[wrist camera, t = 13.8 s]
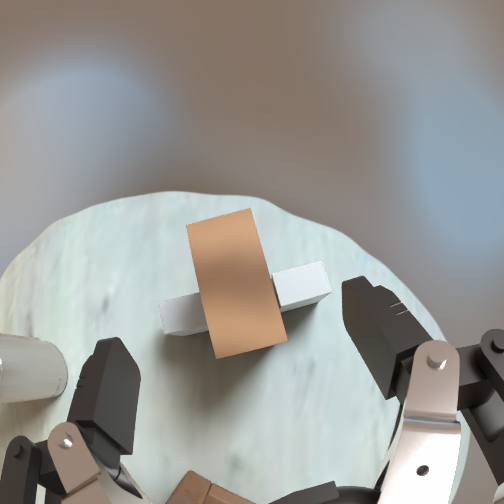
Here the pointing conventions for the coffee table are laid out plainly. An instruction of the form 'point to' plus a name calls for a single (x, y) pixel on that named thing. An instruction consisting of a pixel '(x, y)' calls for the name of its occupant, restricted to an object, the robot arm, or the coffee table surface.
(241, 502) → the brown notched handled part
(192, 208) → the coffee table surface
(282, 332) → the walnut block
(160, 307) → the white notched u-shaped brace
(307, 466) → the coffee table surface
